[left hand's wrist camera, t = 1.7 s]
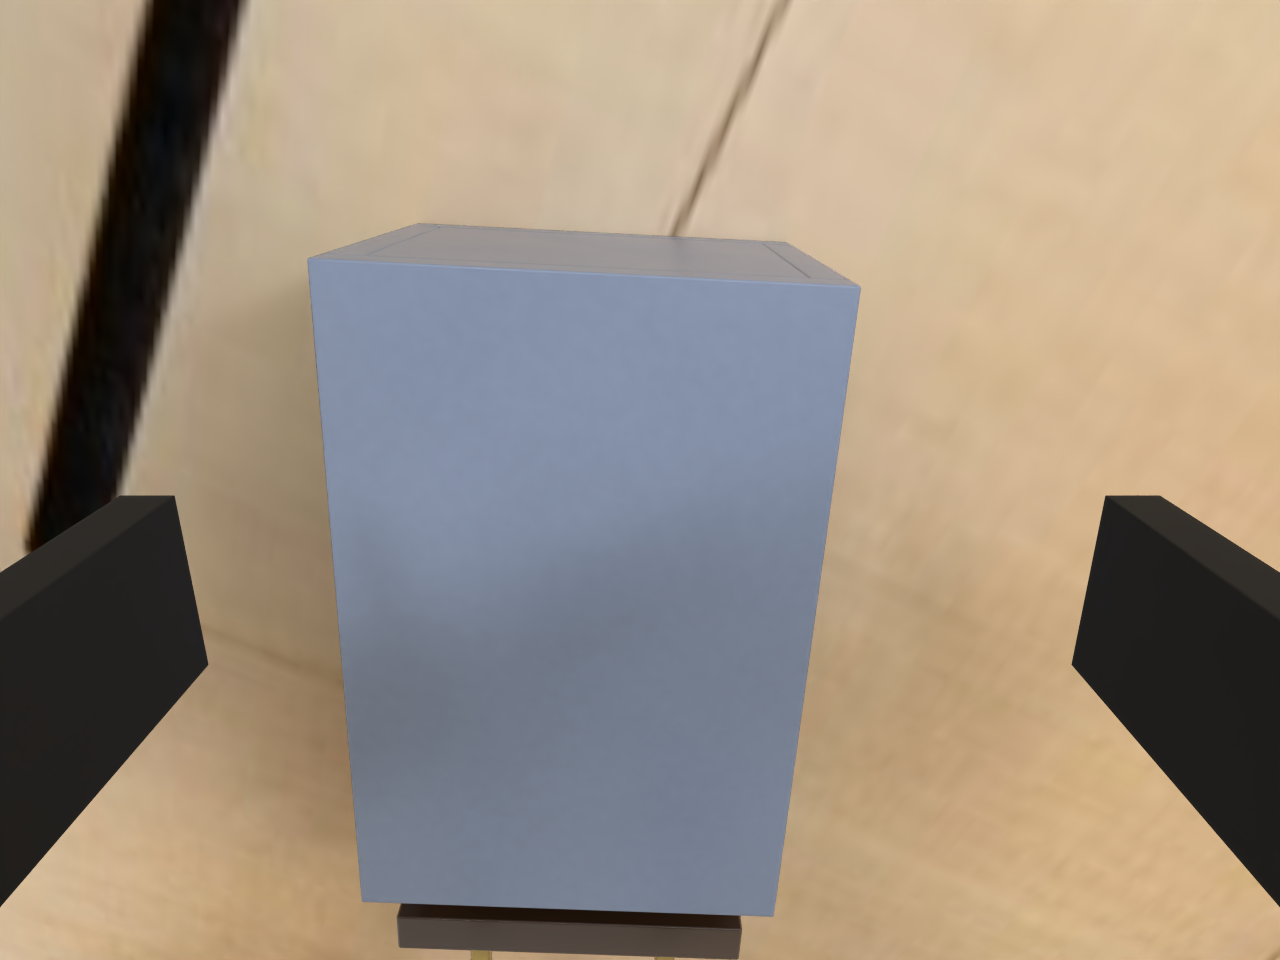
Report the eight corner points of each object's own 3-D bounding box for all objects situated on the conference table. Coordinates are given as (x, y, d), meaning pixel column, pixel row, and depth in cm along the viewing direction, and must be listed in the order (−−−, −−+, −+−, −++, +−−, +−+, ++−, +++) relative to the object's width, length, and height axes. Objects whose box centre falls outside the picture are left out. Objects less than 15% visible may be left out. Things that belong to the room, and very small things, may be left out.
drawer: (706, 897, 33) (723, 1083, 27) (453, 888, 33) (406, 1073, 27) (759, 375, 26) (800, 452, 19) (434, 359, 26) (363, 431, 19)
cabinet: (737, 713, 32) (773, 917, 23) (435, 700, 31) (361, 902, 23) (788, 242, 26) (861, 286, 17) (416, 222, 25) (306, 257, 17)
